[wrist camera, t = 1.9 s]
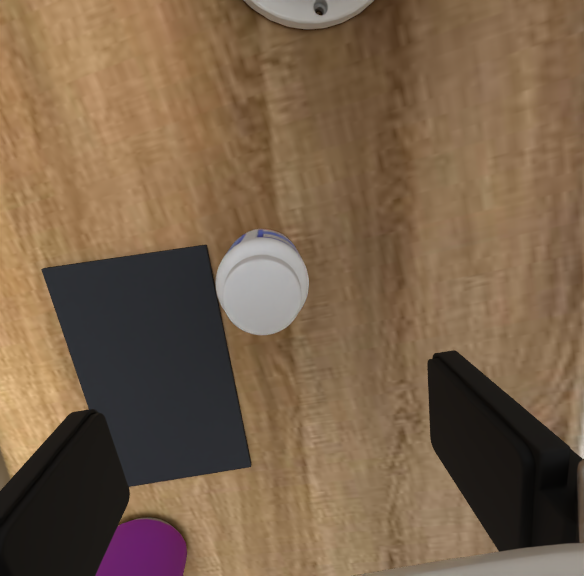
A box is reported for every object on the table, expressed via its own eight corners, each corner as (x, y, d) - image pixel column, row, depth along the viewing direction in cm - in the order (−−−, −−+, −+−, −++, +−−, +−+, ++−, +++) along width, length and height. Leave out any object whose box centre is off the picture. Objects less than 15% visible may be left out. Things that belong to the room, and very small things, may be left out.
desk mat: (44, 268, 26) (40, 269, 25) (206, 244, 26) (205, 245, 26) (117, 485, 31) (116, 489, 31) (251, 463, 31) (251, 467, 31)
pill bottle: (243, 305, 27) (229, 364, 18) (217, 240, 26) (188, 268, 17) (308, 283, 27) (329, 330, 18) (286, 216, 26) (296, 230, 16)
